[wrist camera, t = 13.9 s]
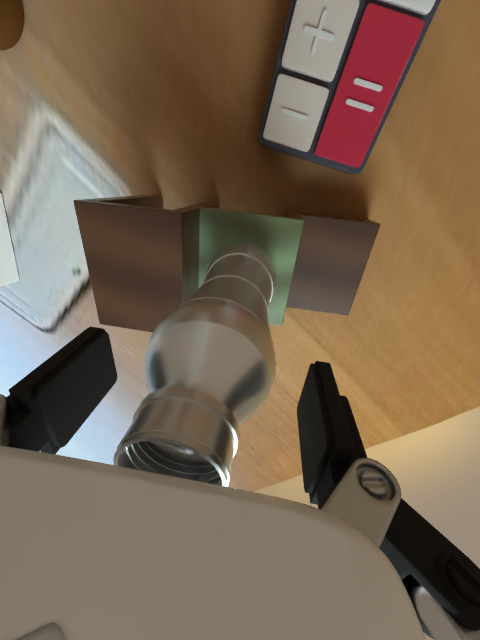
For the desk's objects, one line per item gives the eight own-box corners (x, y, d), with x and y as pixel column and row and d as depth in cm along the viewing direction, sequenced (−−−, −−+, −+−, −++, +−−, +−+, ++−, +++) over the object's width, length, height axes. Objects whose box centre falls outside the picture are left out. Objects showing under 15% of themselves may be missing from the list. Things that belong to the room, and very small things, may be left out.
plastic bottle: (281, 240, 23) (298, 416, 5) (272, 305, 26) (264, 544, 9) (213, 234, 23) (31, 376, 6) (213, 299, 27) (94, 511, 9)
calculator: (255, 142, 24) (322, -137, 16) (258, 145, 27) (314, -79, 19) (362, 176, 24) (482, -82, 16) (351, 175, 28) (445, -36, 20)
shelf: (153, 194, 31) (72, 200, 19) (368, 219, 29) (435, 243, 17) (159, 277, 36) (99, 324, 24) (340, 302, 34) (376, 366, 22)
